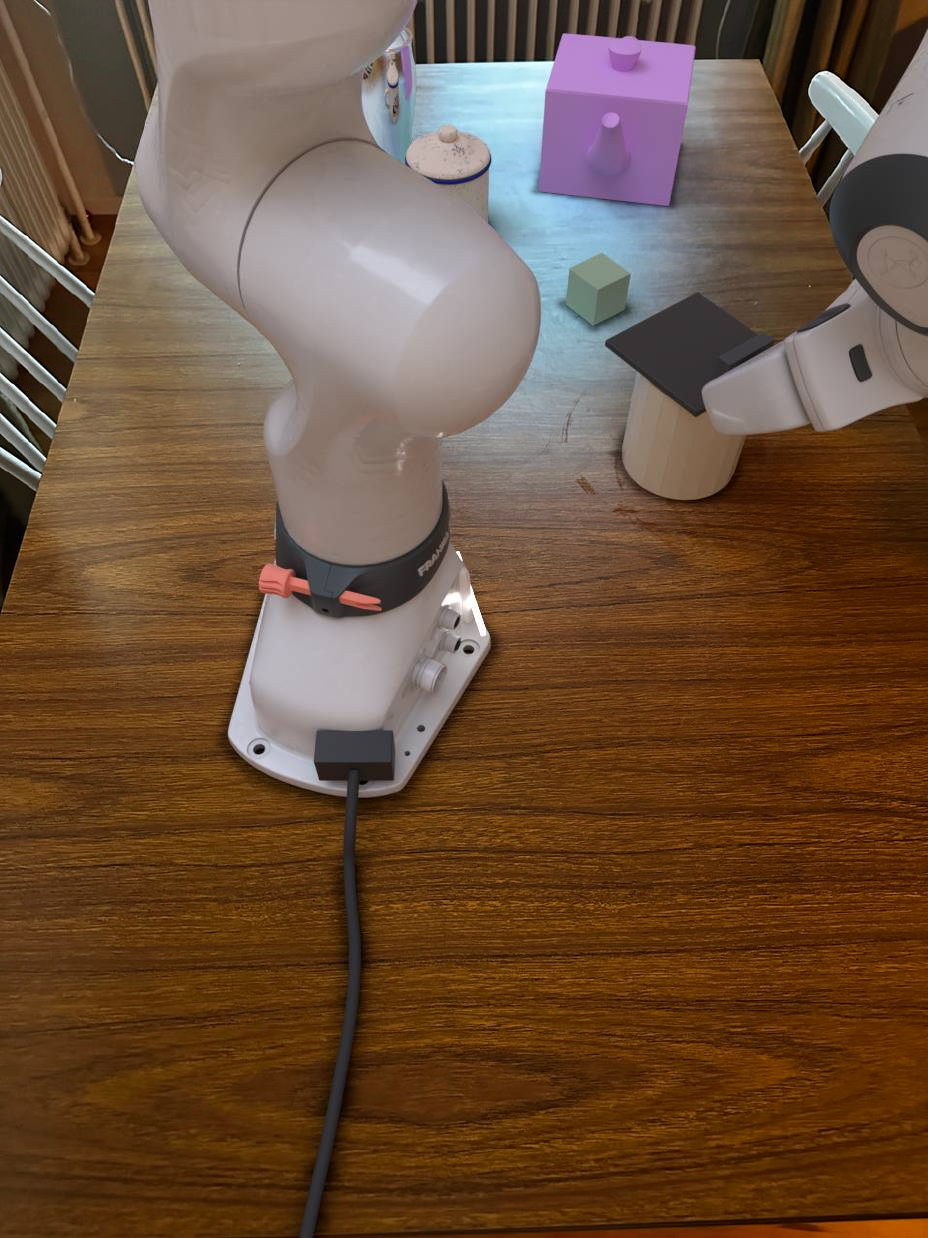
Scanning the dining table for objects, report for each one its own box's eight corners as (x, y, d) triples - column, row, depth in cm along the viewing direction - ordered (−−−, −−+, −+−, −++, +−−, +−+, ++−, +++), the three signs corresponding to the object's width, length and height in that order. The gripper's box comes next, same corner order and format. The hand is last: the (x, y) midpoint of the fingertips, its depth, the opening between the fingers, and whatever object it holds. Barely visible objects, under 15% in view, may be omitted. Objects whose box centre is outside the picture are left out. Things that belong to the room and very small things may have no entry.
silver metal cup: (353, 162, 115) (340, 28, 103) (406, 149, 117) (399, 15, 104) (374, 192, 111) (363, 56, 99) (429, 178, 113) (425, 43, 101)
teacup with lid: (493, 210, 109) (496, 107, 100) (485, 258, 104) (487, 155, 94) (390, 204, 110) (382, 101, 100) (377, 251, 105) (368, 147, 95)
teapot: (528, 226, 107) (536, 100, 96) (560, 113, 121) (570, -9, 110) (663, 242, 106) (688, 115, 94) (679, 125, 120) (702, 3, 108)
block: (625, 310, 99) (631, 273, 95) (593, 326, 97) (598, 289, 94) (596, 288, 101) (601, 252, 97) (565, 304, 99) (569, 267, 96)
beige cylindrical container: (758, 466, 86) (792, 371, 77) (676, 517, 83) (702, 424, 74) (679, 404, 91) (702, 307, 82) (598, 450, 87) (614, 354, 78)
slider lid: (788, 363, 77) (801, 326, 74) (695, 417, 74) (705, 381, 71) (696, 297, 82) (705, 260, 79) (604, 345, 79) (609, 309, 76)
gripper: (992, 225, 64) (831, 279, 76) (781, 345, 57) (643, 383, 69) (1017, 315, 65) (856, 353, 78) (816, 442, 58) (674, 462, 71)
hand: (754, 368), depth 73 cm, fingers closed, pressing on slider lid
